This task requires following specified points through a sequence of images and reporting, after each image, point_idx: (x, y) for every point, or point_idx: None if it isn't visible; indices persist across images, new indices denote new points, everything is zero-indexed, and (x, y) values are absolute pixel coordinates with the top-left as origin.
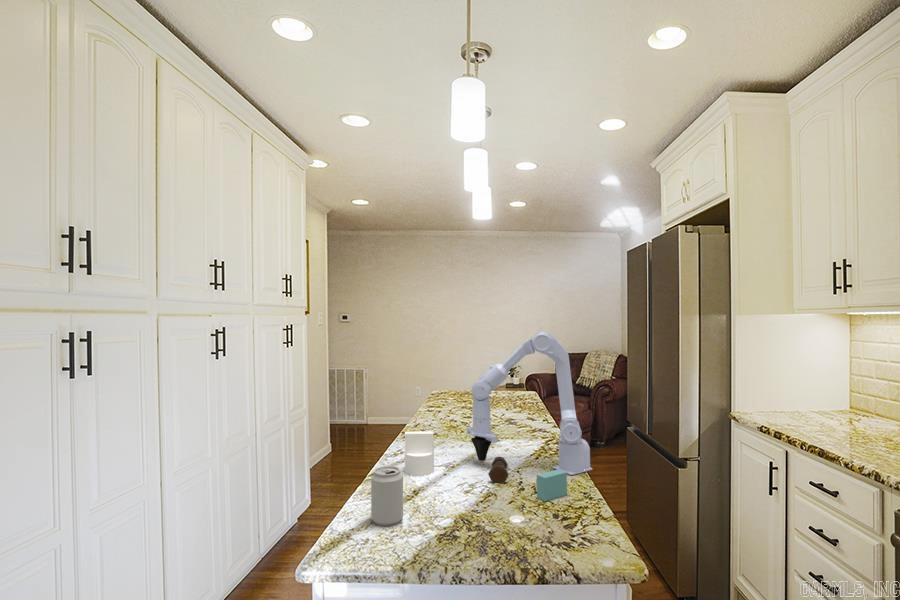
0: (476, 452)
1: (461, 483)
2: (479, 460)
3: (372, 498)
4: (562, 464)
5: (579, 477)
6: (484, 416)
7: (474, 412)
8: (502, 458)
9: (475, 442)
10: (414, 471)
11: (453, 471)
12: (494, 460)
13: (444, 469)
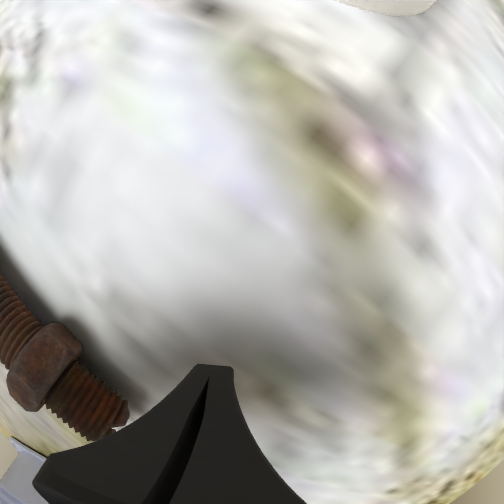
0: (232, 403)
1: (40, 51)
2: (211, 365)
3: None
4: (25, 464)
5: (3, 433)
6: None
7: None
8: (10, 391)
9: (177, 491)
10: None
11: (219, 77)
12: (19, 355)
13: (306, 51)
